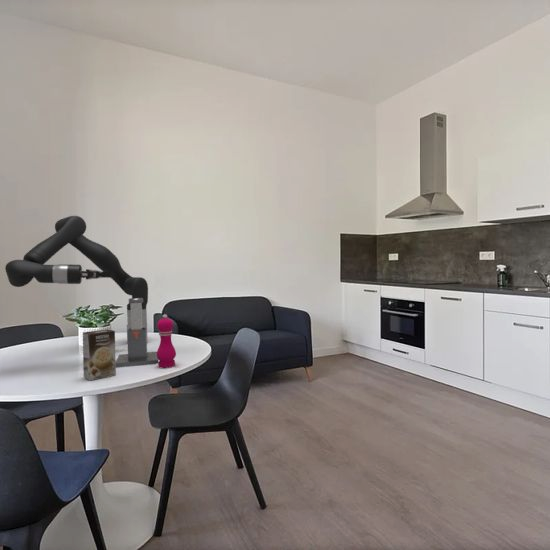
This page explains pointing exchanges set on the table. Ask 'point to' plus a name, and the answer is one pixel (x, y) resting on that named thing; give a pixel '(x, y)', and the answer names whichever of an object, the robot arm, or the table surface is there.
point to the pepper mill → (165, 343)
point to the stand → (137, 350)
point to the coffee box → (99, 354)
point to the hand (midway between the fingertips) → (112, 274)
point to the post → (136, 313)
